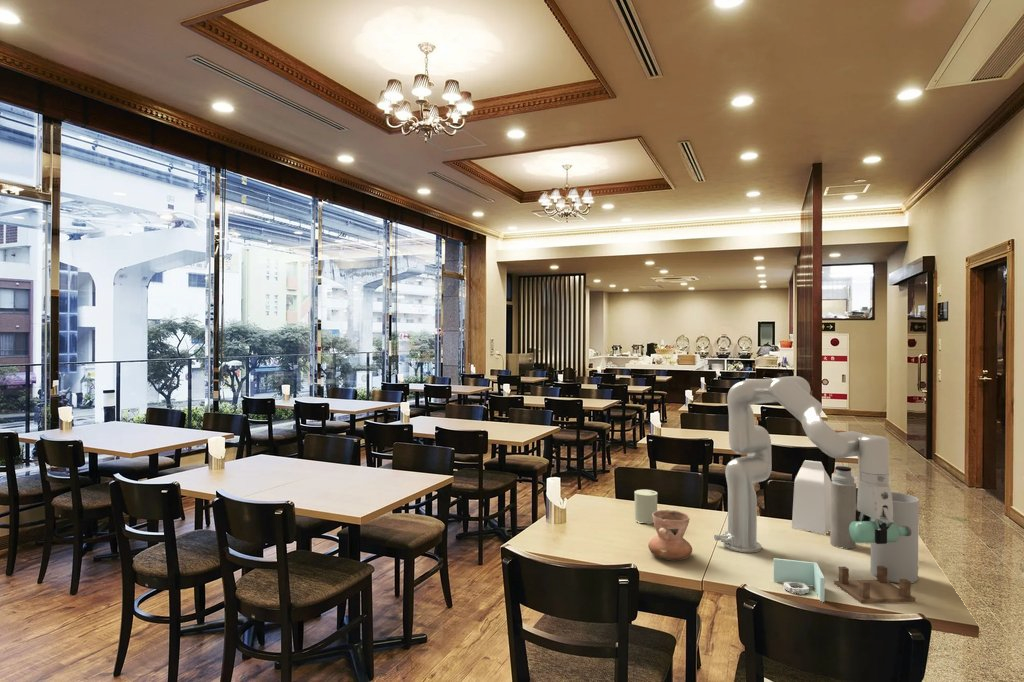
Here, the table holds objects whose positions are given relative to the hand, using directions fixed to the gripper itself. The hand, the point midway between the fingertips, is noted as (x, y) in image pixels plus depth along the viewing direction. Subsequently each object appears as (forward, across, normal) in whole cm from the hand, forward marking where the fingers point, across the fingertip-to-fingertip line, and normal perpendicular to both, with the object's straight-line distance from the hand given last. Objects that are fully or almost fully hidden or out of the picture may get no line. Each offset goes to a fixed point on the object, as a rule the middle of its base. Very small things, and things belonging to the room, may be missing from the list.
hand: (873, 538), depth 177 cm
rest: (+16, 0, 0) cm, 16 cm away
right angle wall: (+16, +2, +22) cm, 27 cm away
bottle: (+1, 0, -3) cm, 3 cm away
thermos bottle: (+16, +39, -15) cm, 45 cm away
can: (+16, +70, +48) cm, 86 cm away
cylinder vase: (+16, +11, -14) cm, 24 cm away
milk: (+16, +58, -15) cm, 62 cm away
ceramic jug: (+16, +32, +50) cm, 61 cm away
